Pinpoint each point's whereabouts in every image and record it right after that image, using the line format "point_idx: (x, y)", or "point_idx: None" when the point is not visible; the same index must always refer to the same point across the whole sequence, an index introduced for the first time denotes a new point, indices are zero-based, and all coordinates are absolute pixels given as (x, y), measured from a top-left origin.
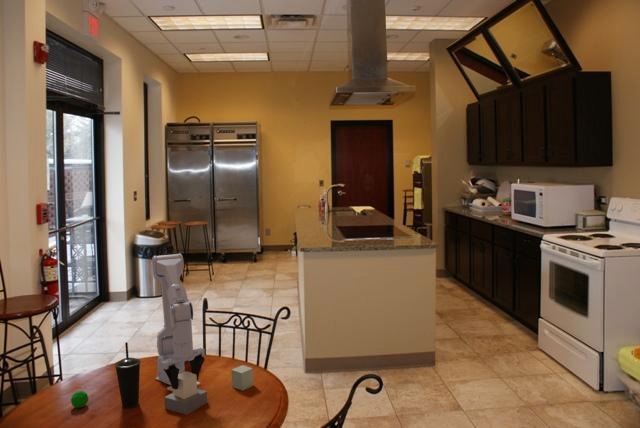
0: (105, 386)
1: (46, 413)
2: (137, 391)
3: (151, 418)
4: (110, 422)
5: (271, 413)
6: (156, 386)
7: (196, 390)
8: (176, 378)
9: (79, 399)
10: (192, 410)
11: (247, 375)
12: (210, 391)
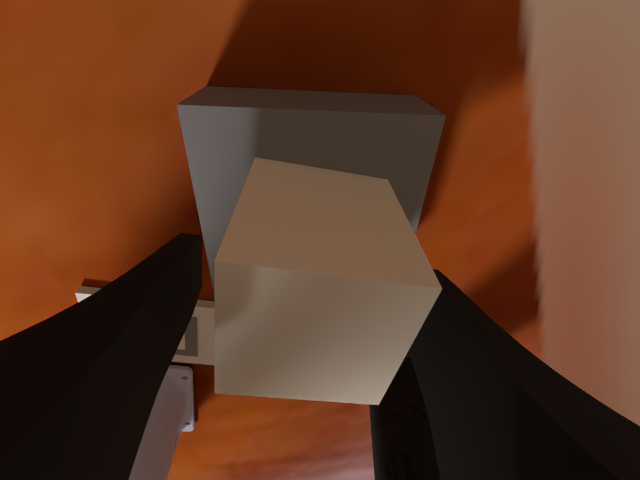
0: (316, 472)
1: None
2: (409, 415)
3: (494, 245)
4: (542, 343)
5: None
6: (232, 396)
7: (258, 169)
8: (513, 353)
9: None
10: (361, 94)
11: None
12: (84, 182)
